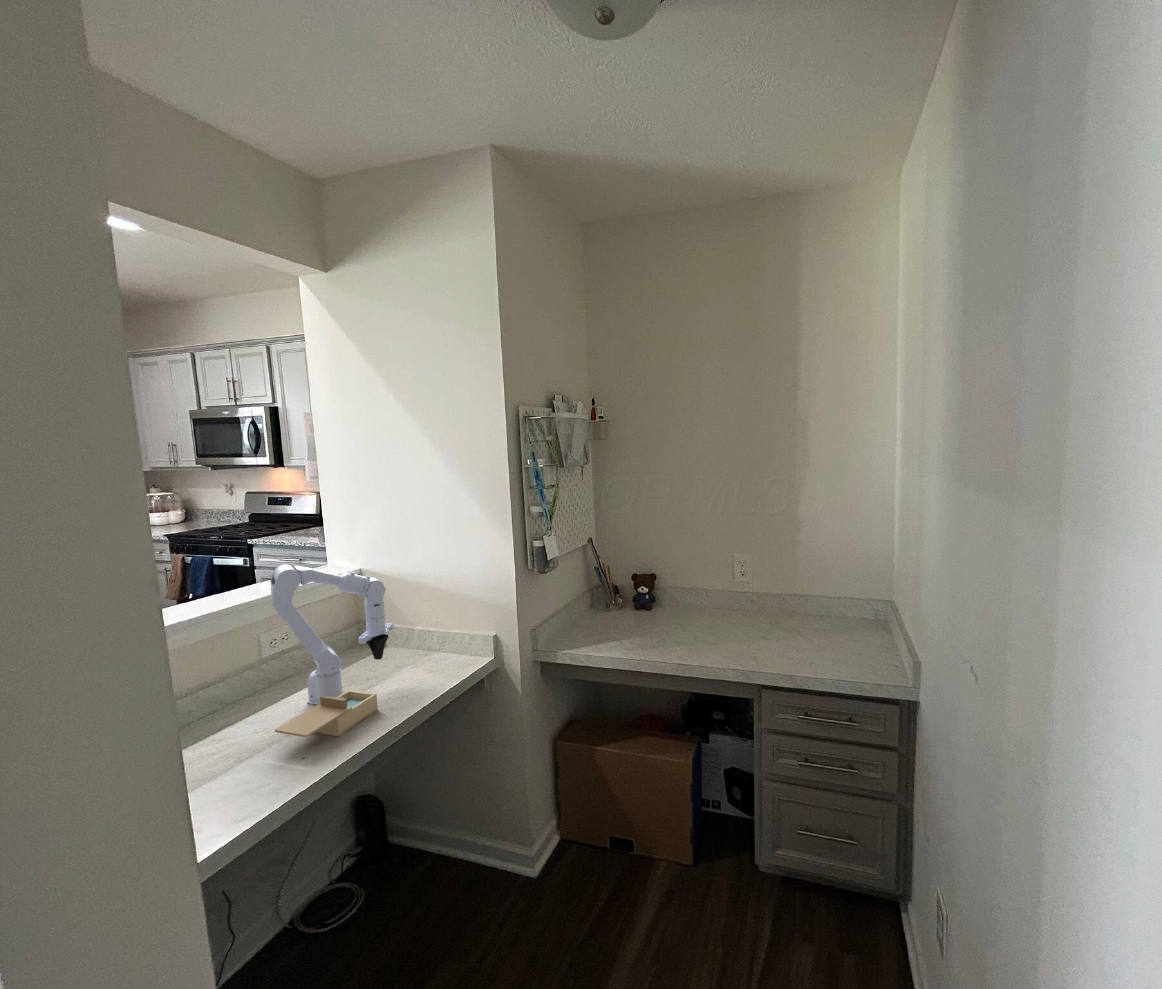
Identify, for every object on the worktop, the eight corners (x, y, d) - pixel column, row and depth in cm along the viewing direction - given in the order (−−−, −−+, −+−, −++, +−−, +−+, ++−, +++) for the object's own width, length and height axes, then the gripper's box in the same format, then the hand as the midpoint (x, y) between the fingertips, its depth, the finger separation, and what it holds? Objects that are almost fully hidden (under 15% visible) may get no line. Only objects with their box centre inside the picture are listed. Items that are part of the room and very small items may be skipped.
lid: (321, 704, 175) (320, 694, 175) (351, 709, 171) (351, 698, 171) (274, 732, 160) (273, 720, 159) (306, 737, 156) (305, 726, 156)
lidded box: (349, 706, 185) (348, 689, 185) (377, 710, 182) (376, 693, 181) (309, 731, 170) (307, 713, 170) (339, 736, 167) (337, 718, 166)
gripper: (370, 624, 188) (373, 668, 189) (400, 610, 201) (402, 651, 203) (351, 622, 190) (354, 666, 192) (382, 609, 204) (384, 649, 205)
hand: (378, 658), depth 197 cm, fingers closed
